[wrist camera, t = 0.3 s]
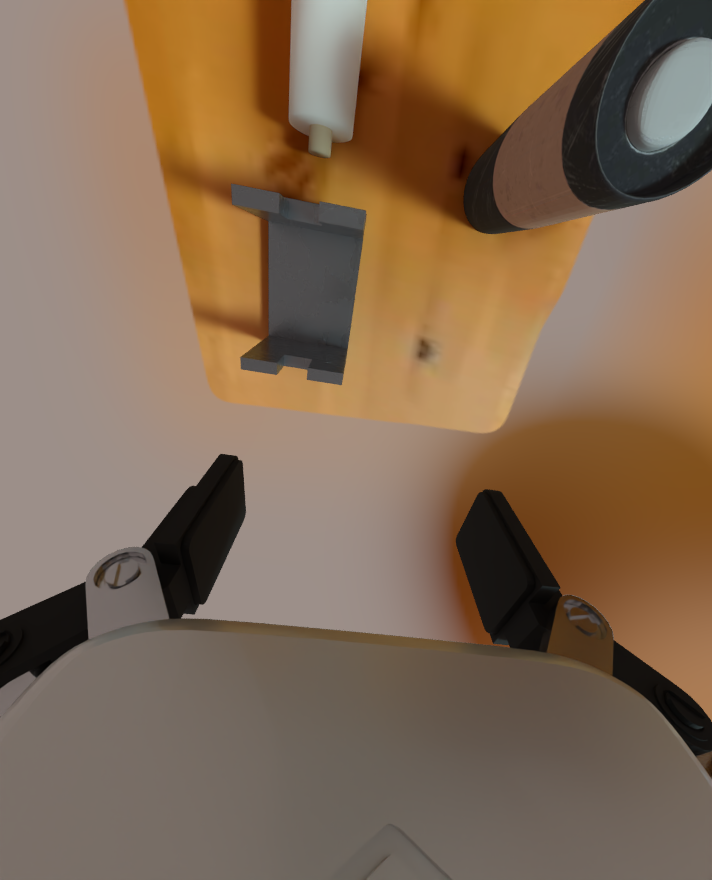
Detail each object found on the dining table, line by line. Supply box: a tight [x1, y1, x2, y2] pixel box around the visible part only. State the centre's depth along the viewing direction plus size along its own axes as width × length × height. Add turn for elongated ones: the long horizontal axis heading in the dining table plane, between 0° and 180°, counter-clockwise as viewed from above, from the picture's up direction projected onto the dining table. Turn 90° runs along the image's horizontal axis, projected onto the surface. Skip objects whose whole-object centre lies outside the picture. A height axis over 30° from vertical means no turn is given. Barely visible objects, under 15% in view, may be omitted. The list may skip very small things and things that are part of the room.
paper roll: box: [289, 0, 367, 158], centre depth 23 cm, size 13×6×6 cm, turn 171°
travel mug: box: [464, 0, 712, 234], centre depth 21 cm, size 8×8×20 cm
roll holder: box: [231, 184, 366, 385], centre depth 29 cm, size 16×10×11 cm, turn 171°
